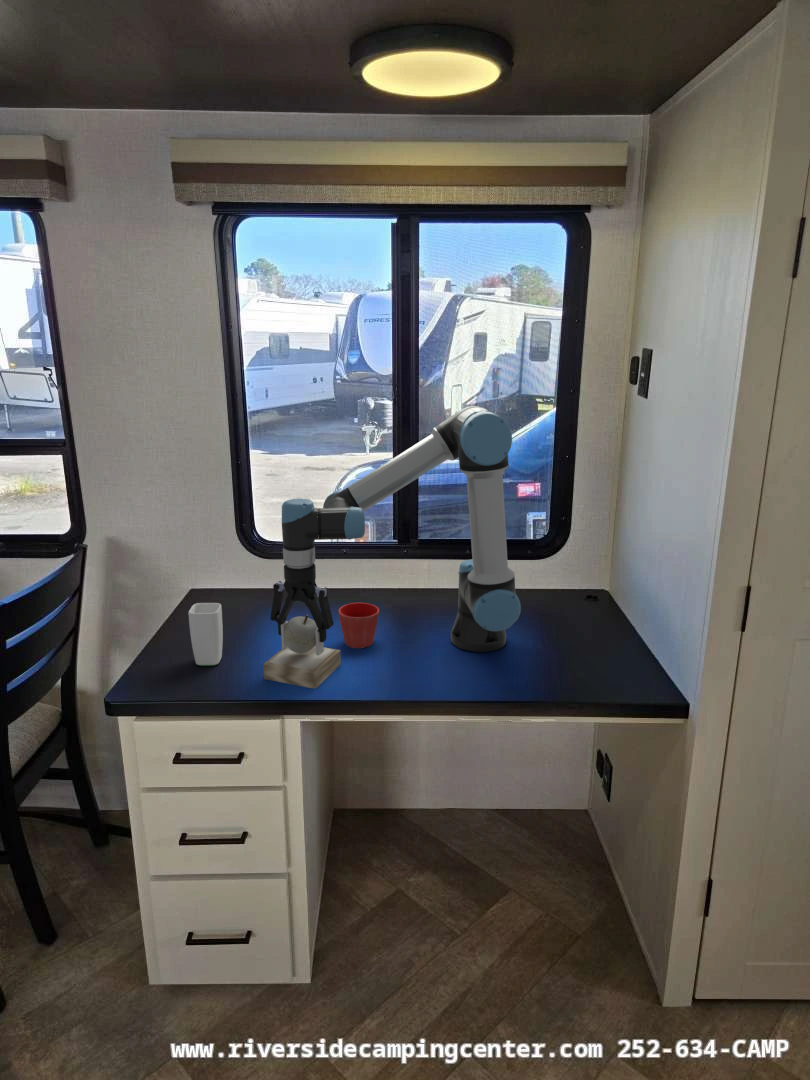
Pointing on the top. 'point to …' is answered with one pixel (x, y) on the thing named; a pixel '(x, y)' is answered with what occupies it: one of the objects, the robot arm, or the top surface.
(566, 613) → the top surface
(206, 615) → the cup
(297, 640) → the decorative object
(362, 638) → the flower pot
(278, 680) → the plinth
